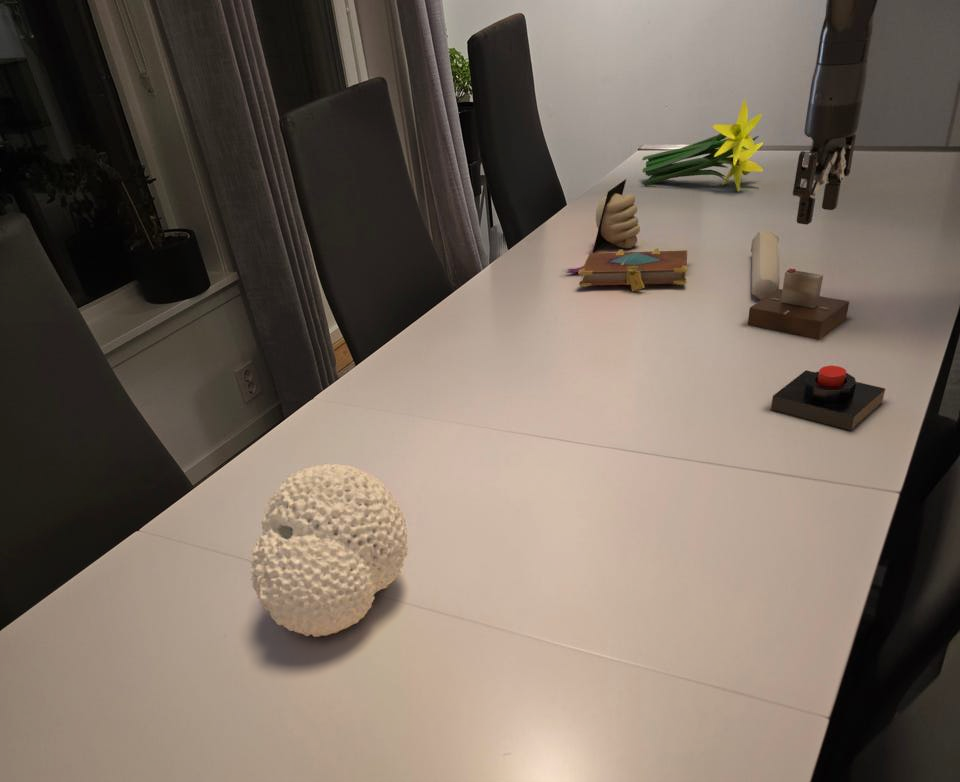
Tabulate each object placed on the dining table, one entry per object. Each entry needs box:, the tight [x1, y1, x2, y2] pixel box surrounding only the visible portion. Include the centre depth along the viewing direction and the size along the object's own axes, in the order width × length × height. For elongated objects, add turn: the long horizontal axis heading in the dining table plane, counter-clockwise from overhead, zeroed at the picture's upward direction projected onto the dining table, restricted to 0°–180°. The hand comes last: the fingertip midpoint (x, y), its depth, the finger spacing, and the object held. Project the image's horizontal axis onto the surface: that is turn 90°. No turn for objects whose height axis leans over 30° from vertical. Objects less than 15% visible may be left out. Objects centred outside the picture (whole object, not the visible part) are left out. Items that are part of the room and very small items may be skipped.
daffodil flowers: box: [642, 98, 764, 193], centre depth 206 cm, size 17×15×35 cm
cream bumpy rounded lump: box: [250, 463, 409, 638], centre depth 93 cm, size 20×18×16 cm
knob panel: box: [747, 288, 850, 340], centre depth 143 cm, size 13×10×3 cm
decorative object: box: [592, 178, 641, 253], centre depth 179 cm, size 13×10×10 cm
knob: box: [781, 268, 824, 308], centre depth 140 cm, size 6×2×5 cm, turn 47°
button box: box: [770, 369, 886, 432], centre depth 119 cm, size 12×10×4 cm
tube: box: [750, 230, 781, 301], centre depth 159 cm, size 5×5×25 cm
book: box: [567, 248, 688, 292], centre depth 166 cm, size 16×25×5 cm, turn 77°
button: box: [817, 365, 847, 387], centre depth 118 cm, size 4×4×2 cm
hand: (816, 216), depth 134 cm, fingers open, 8 cm apart
